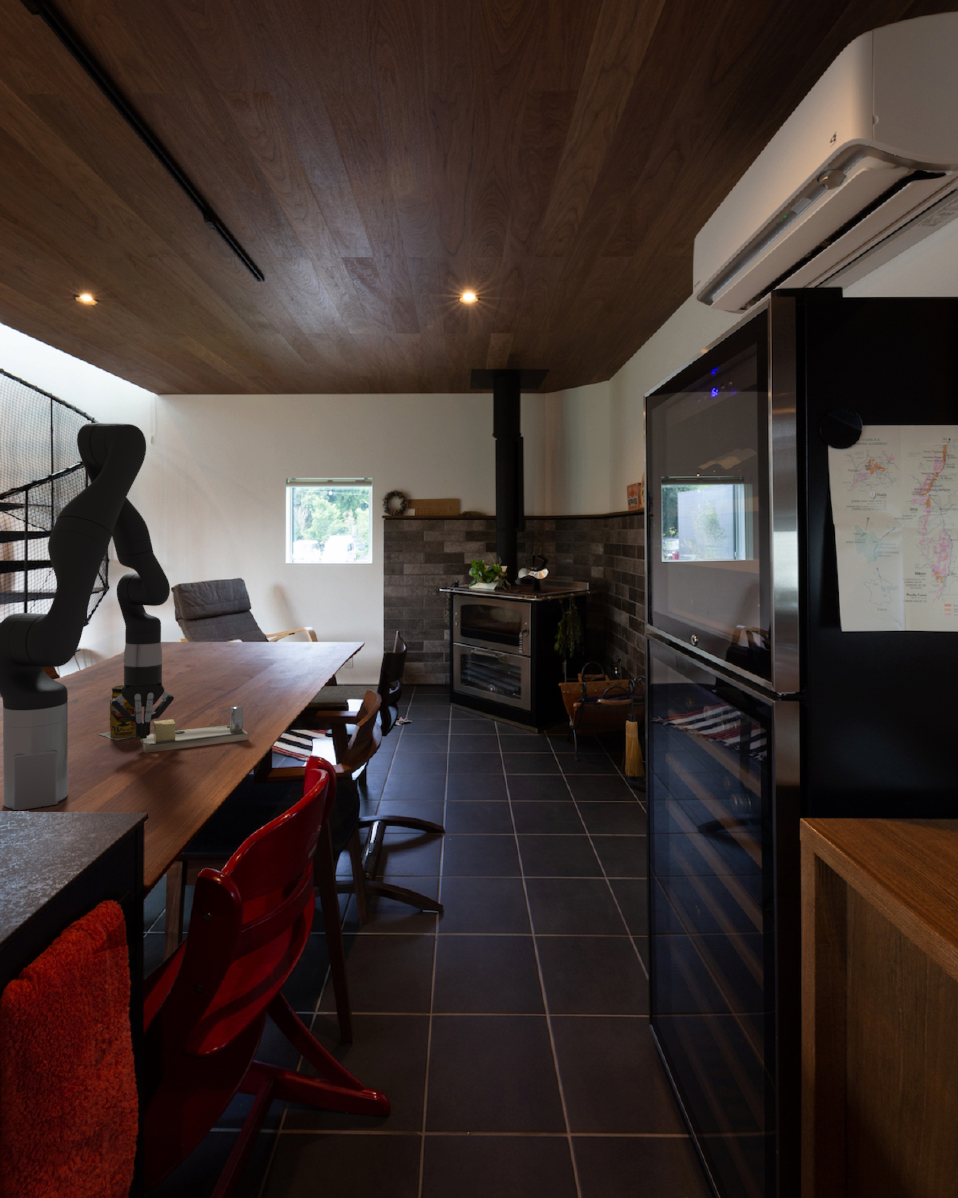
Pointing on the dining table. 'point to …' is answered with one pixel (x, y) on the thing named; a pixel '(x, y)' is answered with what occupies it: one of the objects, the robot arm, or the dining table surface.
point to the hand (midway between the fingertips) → (142, 737)
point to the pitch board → (194, 738)
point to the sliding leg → (164, 730)
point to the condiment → (120, 719)
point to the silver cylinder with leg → (236, 719)
